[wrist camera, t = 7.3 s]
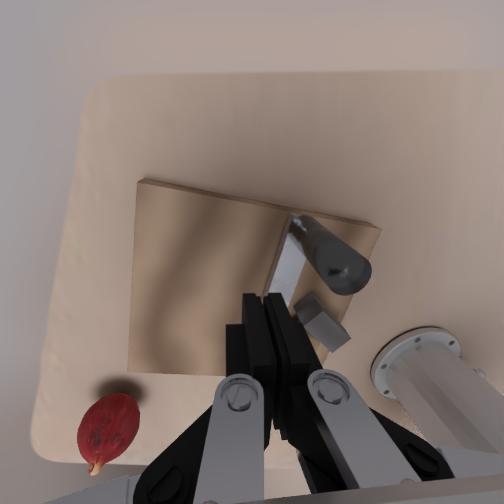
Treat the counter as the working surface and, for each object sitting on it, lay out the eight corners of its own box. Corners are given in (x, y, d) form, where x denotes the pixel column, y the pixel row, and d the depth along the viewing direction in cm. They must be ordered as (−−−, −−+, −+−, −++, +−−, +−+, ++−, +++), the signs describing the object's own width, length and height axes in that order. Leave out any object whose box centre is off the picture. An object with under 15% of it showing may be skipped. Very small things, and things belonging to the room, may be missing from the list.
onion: (93, 376, 29) (53, 455, 22) (147, 376, 30) (126, 451, 23) (97, 410, 31) (62, 493, 24) (146, 409, 32) (127, 487, 25)
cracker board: (369, 223, 26) (407, 243, 21) (310, 366, 33) (328, 407, 28) (143, 178, 21) (121, 190, 16) (132, 357, 29) (115, 404, 23)
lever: (263, 381, 30) (283, 475, 21) (227, 379, 29) (232, 476, 20) (325, 217, 22) (392, 262, 14) (280, 206, 21) (322, 247, 13)
